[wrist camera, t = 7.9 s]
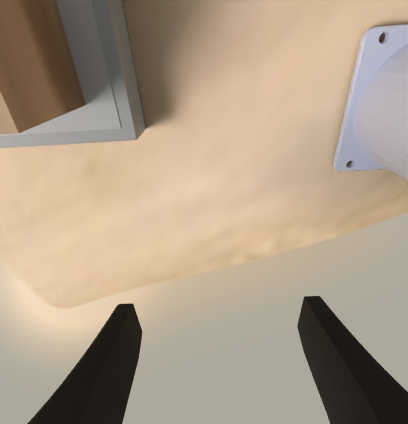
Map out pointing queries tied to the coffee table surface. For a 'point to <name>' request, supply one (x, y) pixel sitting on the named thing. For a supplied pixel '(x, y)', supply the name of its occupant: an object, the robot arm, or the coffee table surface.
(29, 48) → the walnut block
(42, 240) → the coffee table surface
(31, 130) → the plinth
